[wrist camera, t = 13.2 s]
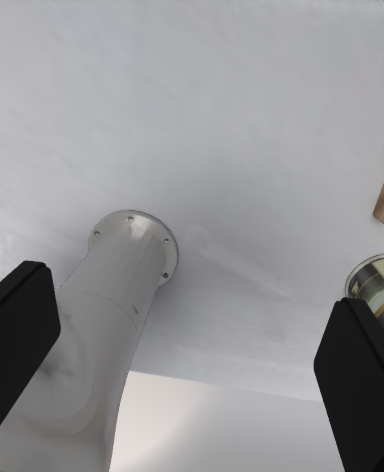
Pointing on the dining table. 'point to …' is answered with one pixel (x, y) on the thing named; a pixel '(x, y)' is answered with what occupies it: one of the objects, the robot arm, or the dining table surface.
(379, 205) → the wooden slotted base
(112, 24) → the dining table surface
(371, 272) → the coffee can
